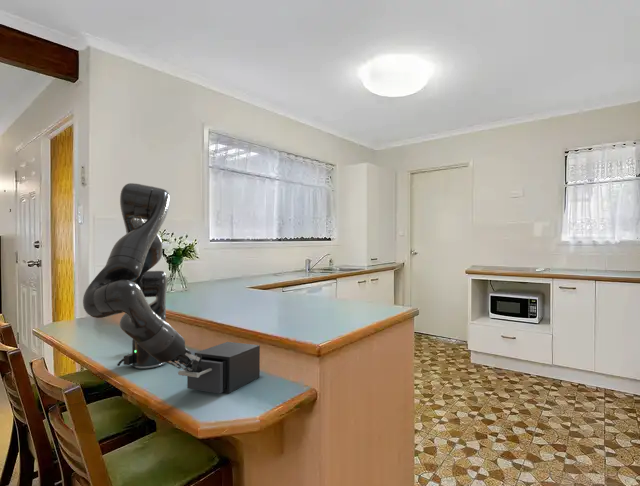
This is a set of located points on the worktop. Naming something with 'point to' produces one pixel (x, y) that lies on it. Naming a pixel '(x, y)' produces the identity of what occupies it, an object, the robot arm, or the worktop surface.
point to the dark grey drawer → (208, 376)
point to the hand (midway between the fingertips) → (198, 373)
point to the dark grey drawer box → (236, 362)
